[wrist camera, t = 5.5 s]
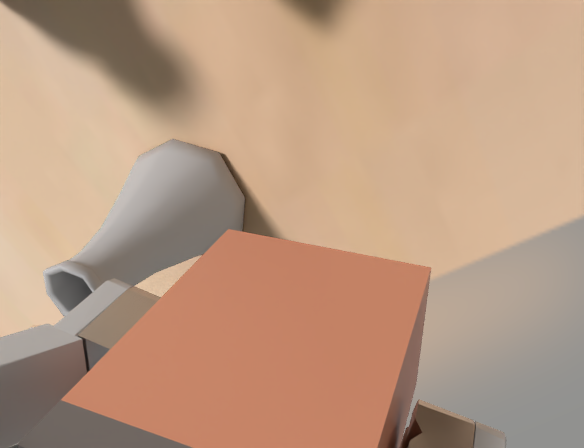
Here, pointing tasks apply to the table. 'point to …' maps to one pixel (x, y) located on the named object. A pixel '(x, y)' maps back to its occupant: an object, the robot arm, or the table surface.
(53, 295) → the flask
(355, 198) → the table surface
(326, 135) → the table surface
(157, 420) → the block
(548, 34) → the table surface
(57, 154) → the table surface
